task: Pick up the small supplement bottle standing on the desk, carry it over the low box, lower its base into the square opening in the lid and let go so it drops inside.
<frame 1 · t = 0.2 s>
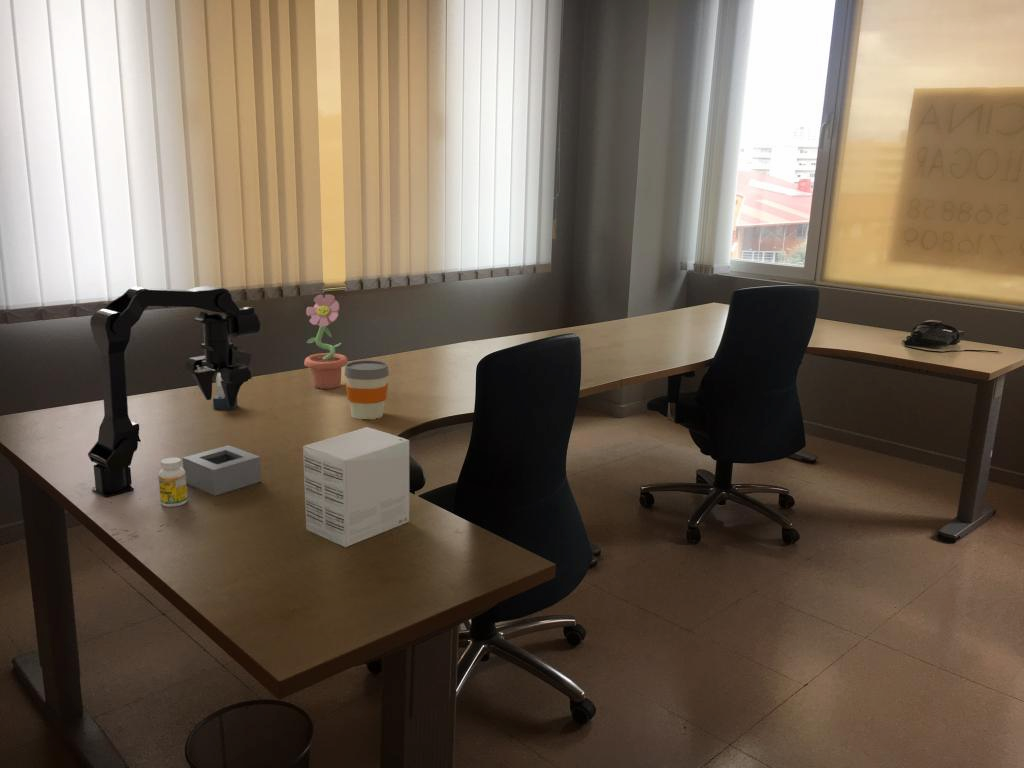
hand: (220, 403, 211), 14 cm above the table, tool pointing down, fingers open, 9 cm apart
decorative flower: (325, 386, 285), on the table
supplement box: (358, 526, 179), on the table
reusable coffee cup: (367, 415, 255), on the table
supplement bottle: (174, 503, 188), on the table
drop box: (222, 481, 200), on the table
white bust figurine: (225, 407, 259), on the table
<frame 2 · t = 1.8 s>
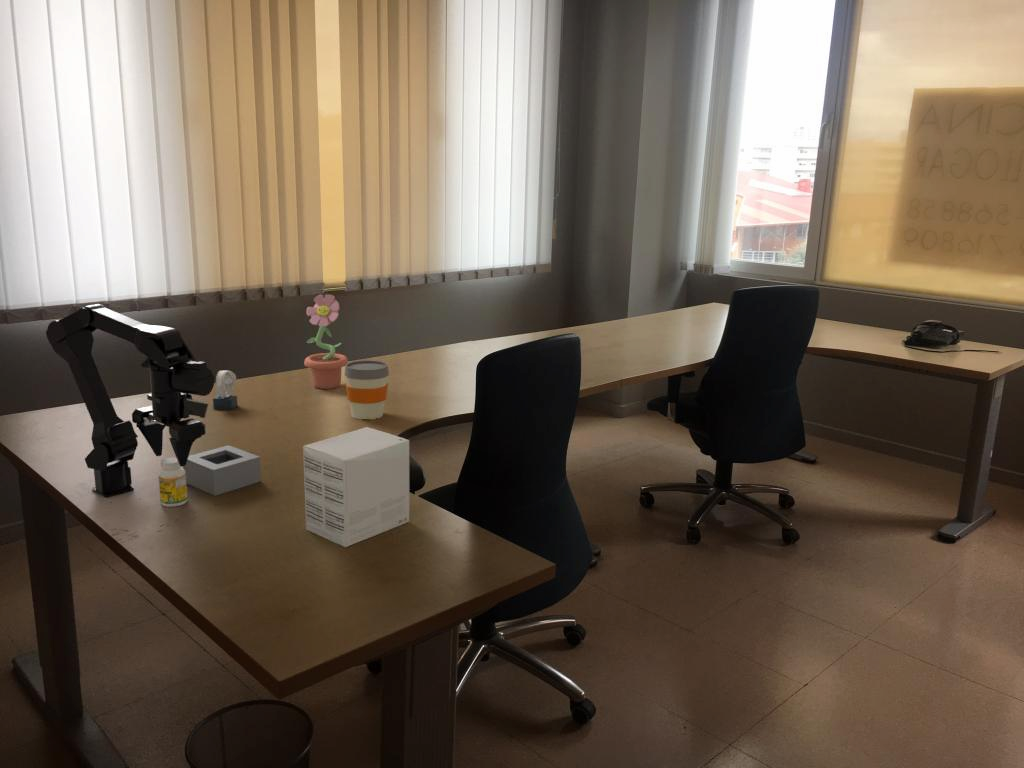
hand: (170, 460, 185), 9 cm above the table, tool pointing down, fingers open, 9 cm apart
nothing on the table moved.
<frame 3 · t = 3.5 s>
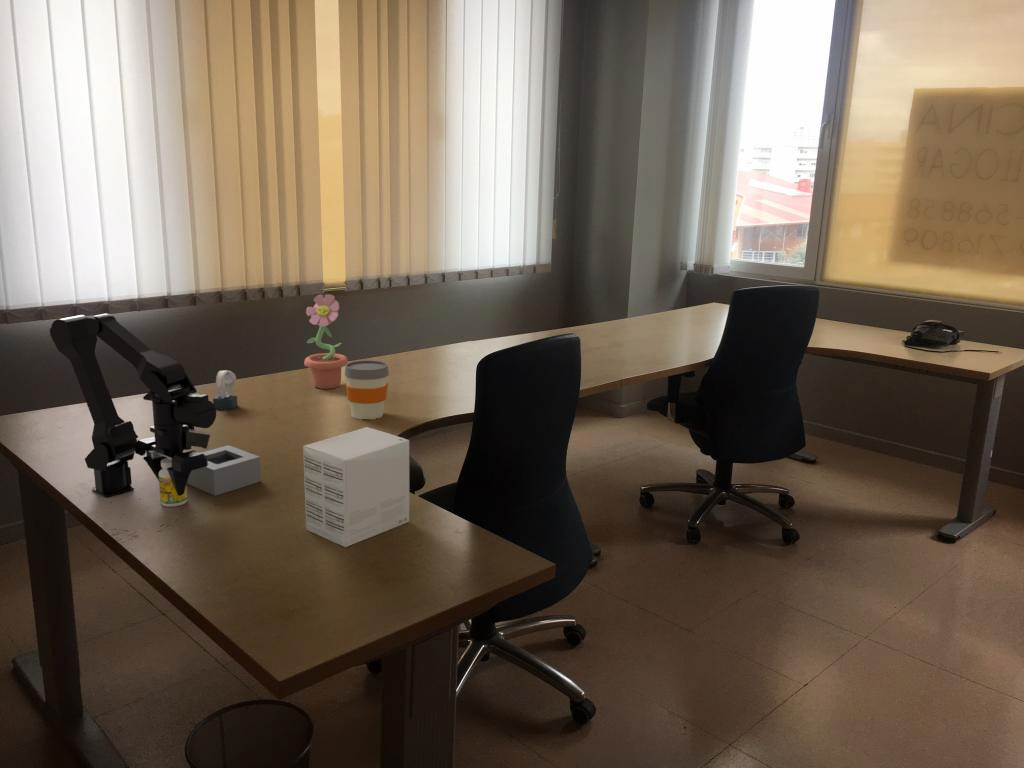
hand: (173, 491, 187), 3 cm above the table, tool pointing down, fingers closed on supplement bottle, 5 cm apart
supplement bottle: (174, 503, 188), on the table, touching gripper
everything else where it was.
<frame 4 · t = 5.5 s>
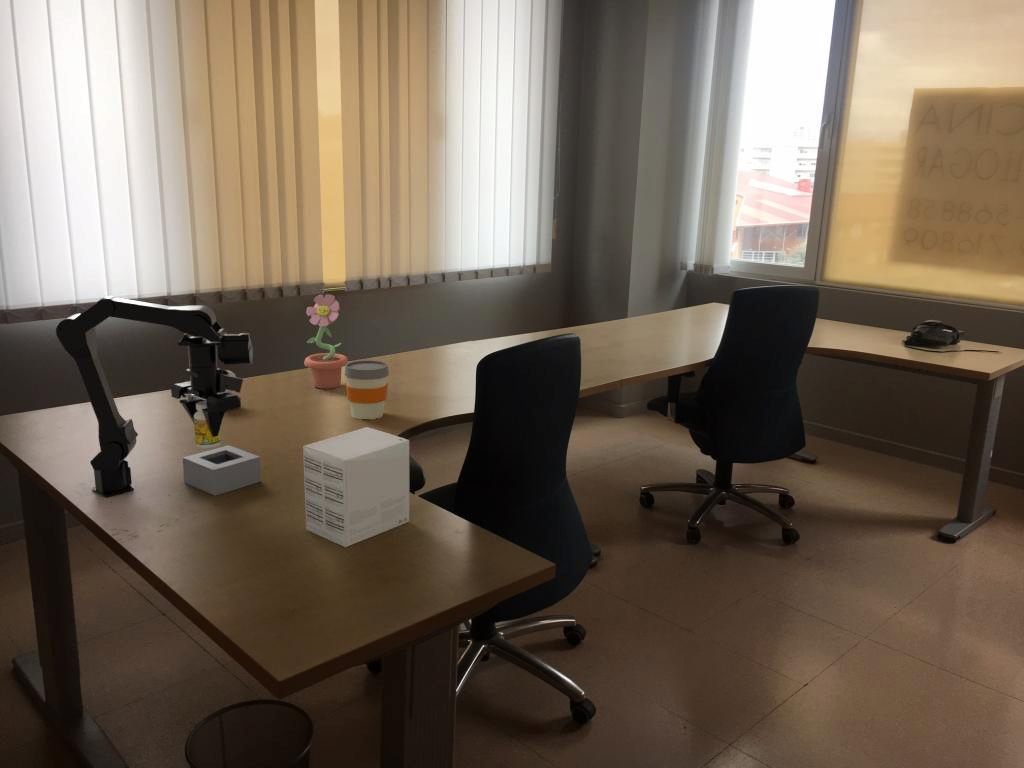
hand: (208, 433, 193), 13 cm above the table, tool pointing down, fingers closed on supplement bottle, 5 cm apart
supplement bottle: (208, 445, 194), point 10 cm above the table, touching gripper
everything else where it was.
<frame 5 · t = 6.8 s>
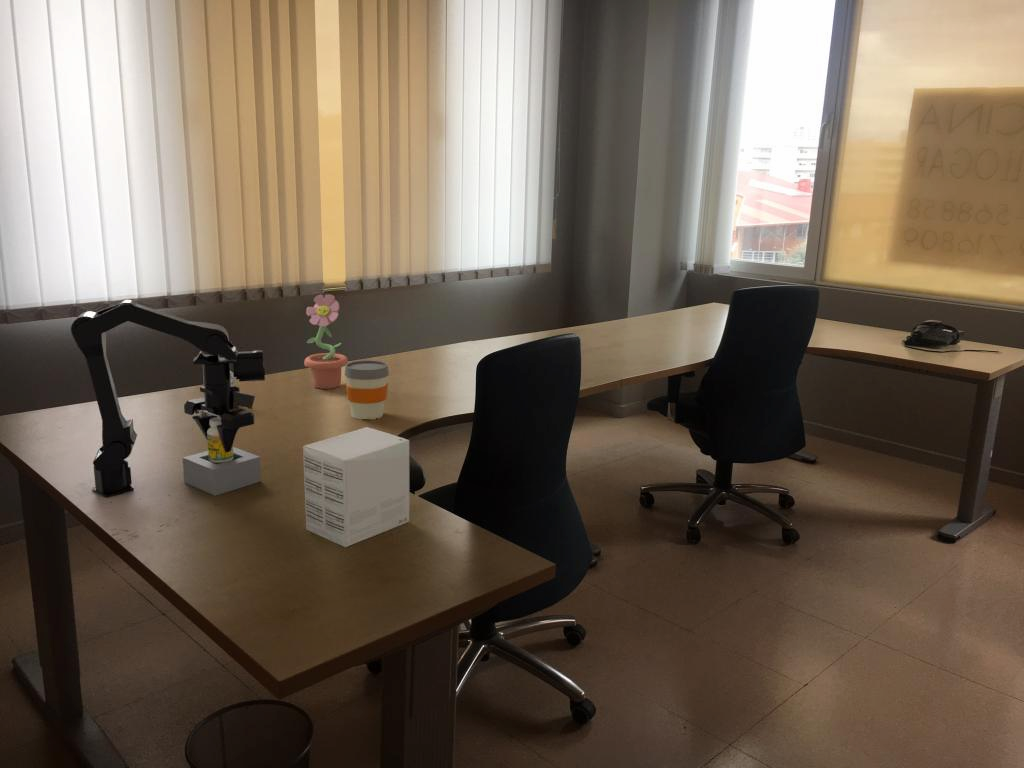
hand: (220, 449, 198), 8 cm above the table, tool pointing down, fingers closed on supplement bottle, 5 cm apart
supplement bottle: (221, 460, 199), point 5 cm above the table, touching gripper
everything else where it was.
when the fingers open (8 cm above the table, at t = 7.7 s): supplement bottle drops 5 cm, resting in drop box.
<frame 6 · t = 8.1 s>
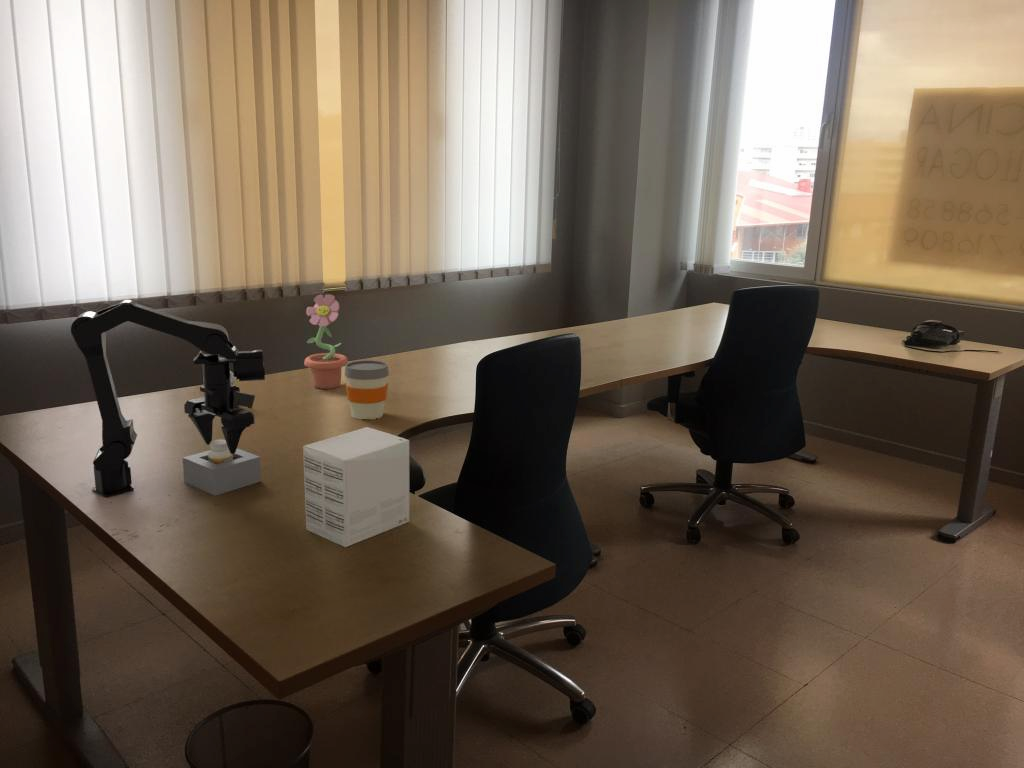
hand: (220, 448, 198), 8 cm above the table, tool pointing down, fingers open, 9 cm apart
supplement bottle: (222, 482, 200), resting in drop box
everything else where it was.
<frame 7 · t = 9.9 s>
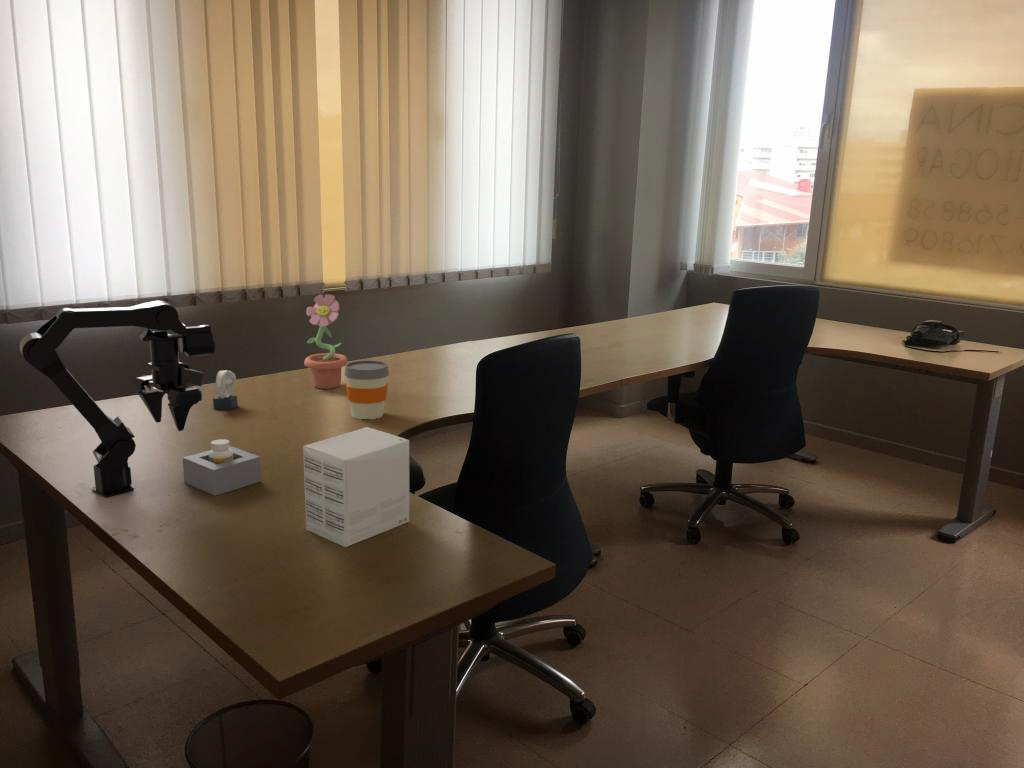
hand: (169, 426, 197), 13 cm above the table, tool pointing down, fingers open, 9 cm apart
nothing on the table moved.
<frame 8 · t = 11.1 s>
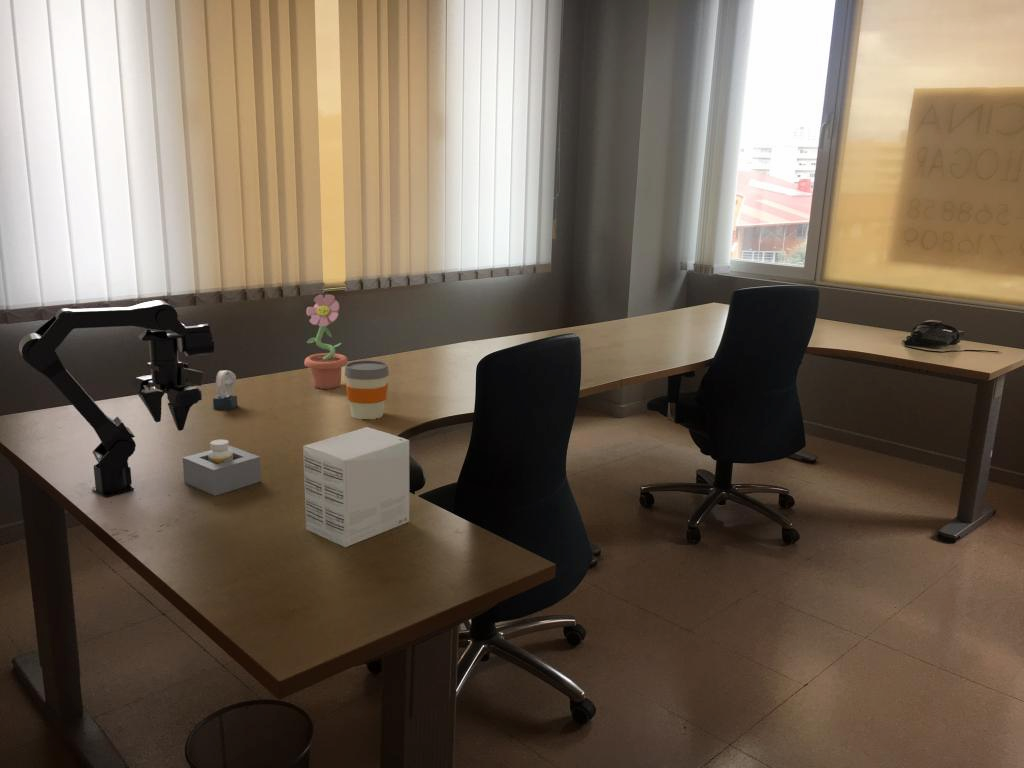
hand: (169, 426, 197), 13 cm above the table, tool pointing down, fingers open, 9 cm apart
nothing on the table moved.
at the end: supplement bottle inside the target area on the drop box (0.1 cm from its centre), point 0.0 cm above the drop box's base; the gripper is holding nothing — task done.
